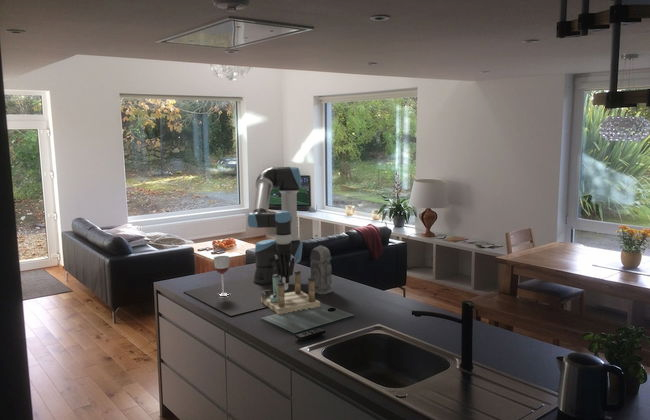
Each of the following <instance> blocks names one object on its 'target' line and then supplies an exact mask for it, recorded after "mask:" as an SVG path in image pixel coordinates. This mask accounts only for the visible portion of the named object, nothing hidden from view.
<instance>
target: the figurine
mask: <svg viewBox="0 0 650 420" xmlns="http://www.w3.org/2000/svg"><path fill="white" fill-rule="evenodd" d="M310 251H311V252H310V256H309V259H310V261H311V262H310V278H315V294H318V295H326V294H329V293H332V292H333V288H332V287H331V284H332V282H333V280H332V275H333V274H332V272H333V271H332V270H333V269H332V264H331V260H332V259H333V258H332V256H331V252H330V249H329V248H328V247H326V246H323V245H321V244H320V245H318V246H316V247H314V248H313V249H311V250H310Z"/></svg>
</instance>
